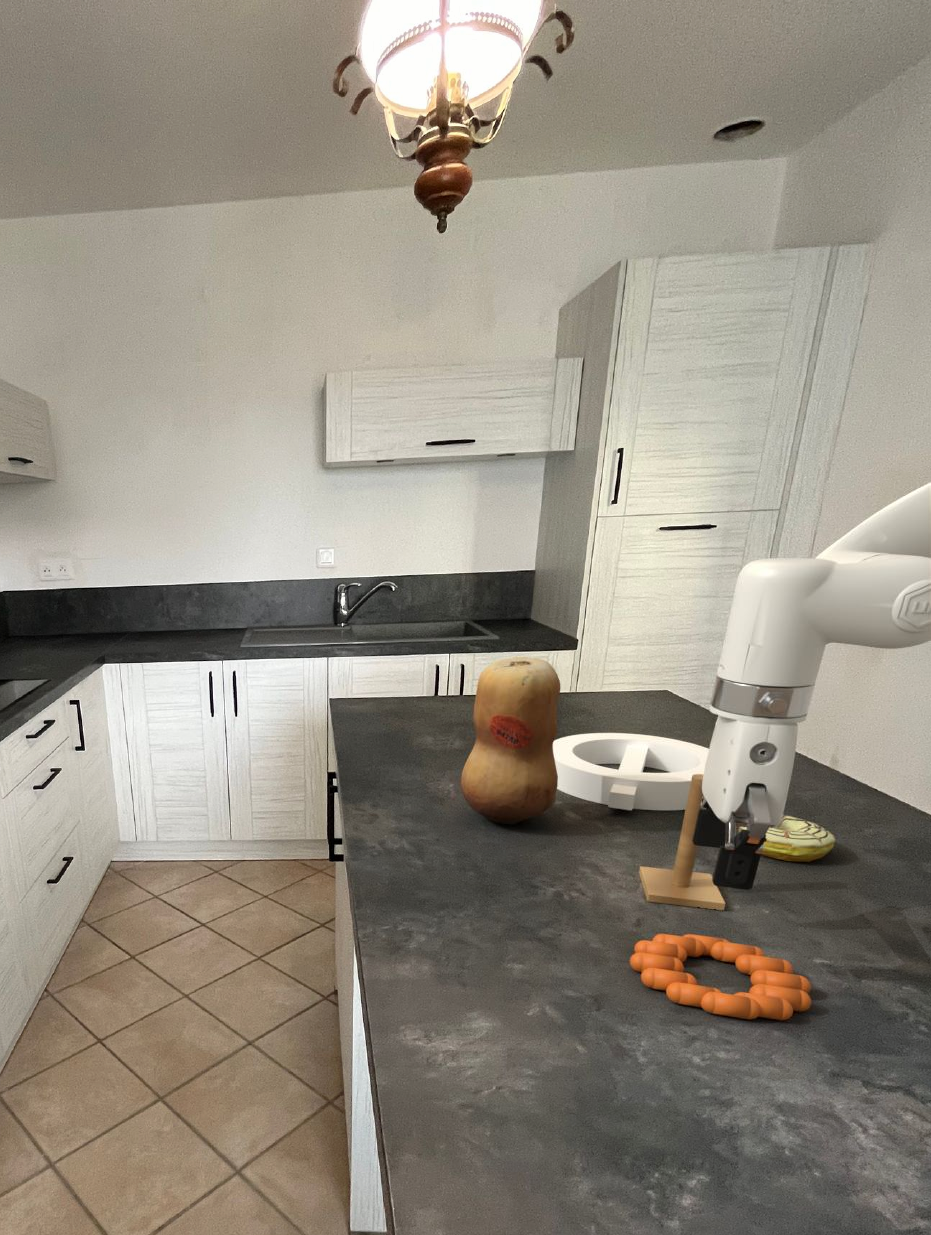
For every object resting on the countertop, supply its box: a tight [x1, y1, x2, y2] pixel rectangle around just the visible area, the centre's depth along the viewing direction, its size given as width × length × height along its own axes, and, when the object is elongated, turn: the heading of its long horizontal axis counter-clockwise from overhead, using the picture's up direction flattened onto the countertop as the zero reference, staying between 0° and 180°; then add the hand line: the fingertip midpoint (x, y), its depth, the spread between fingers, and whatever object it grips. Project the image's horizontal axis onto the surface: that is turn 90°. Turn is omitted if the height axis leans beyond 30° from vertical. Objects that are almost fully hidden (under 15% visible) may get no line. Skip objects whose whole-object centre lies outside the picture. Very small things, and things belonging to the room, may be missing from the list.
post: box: [638, 774, 726, 912], centre depth 87 cm, size 8×8×15 cm
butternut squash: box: [460, 656, 561, 825], centre depth 108 cm, size 14×13×25 cm
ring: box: [629, 933, 812, 1021], centre depth 72 cm, size 16×13×2 cm
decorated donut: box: [738, 814, 836, 863], centre depth 99 cm, size 10×11×4 cm
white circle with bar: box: [553, 732, 709, 811], centre depth 126 cm, size 28×28×5 cm
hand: (719, 865), depth 73 cm, fingers open, 9 cm apart
